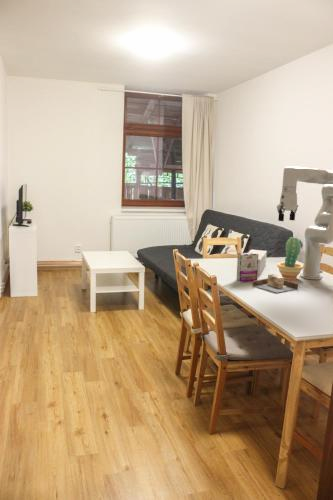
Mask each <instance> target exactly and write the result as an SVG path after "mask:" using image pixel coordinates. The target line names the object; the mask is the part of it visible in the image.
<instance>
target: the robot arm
mask: <svg viewBox="0 0 333 500" xmlns="http://www.w3.org/2000/svg"><path fill="white" fill-rule="evenodd" d="M282 175H283V176H282V187H281V194H280V200H279V204H278V205H276V209H277V212H278V213H277V214H278V217H277V218H278V220H277V221H279V222H284V219H285V214H284V213H285V211H288V212H289V218H288V219H289V221H295V220H296V214H297V211H298V207H299V205H298V194H297V193H298V192H297V185H298V182H301V183H307V184H308V183H309V184H316V185H317V184H318V185H323V186H322V188H321V198H322V204H321V207H320V209H319V211H318V213H317V214H316V216H315V218H314V224H315V225H309V226H307V227H306V228H305V230H304V241H305V242H304V243H305V244H304V245H305V246H304V254H303V256H304V257H303V264H302V265H303V269H302V273H299V277H300V278H302V279H307V280H315V281H316V280H322V275H320V274H323V273H324V271H323V269H320V268H321V258H322V257H321V256H322V247H321V244H323V245H324V244H325V245H330V244H332V243H333V169H332V170H329V169H322V168H321V169H320V168H312V167H311V168H308V167H304V166H303V167H302V166H301V167H300V166H285V167H284V169H283V174H282Z"/></svg>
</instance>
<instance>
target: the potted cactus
mask: <svg viewBox="0 0 333 500" xmlns="http://www.w3.org/2000/svg"><path fill="white" fill-rule="evenodd" d="M303 247H304V242H303V241H302V240H301V239H299V238H298V237H295V236H293V237H292V236H290V237H289V238H288V239H287V241H286V242H285V260H284V262H278V263H277V264H276V266H277V268H278V270H279V273H280V275H281V277H284V280H288V281H289V280H290V281H294V280H295V281H296V280H297V279H298V276H300V274H301V272H302V271H303V265H304V264H300V263H296V261H297V259H298V256H299V255H300V253H301V250H302V249H303Z"/></svg>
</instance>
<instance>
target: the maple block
mask: <svg viewBox="0 0 333 500" xmlns="http://www.w3.org/2000/svg"><path fill="white" fill-rule="evenodd" d="M267 278H268V283H267V284H270V285H273V286H277V287H281V286H283V285H284V280H285V279H284V277H282V275H281V276H280V275H277V274H273V273H272V274H268V275H267Z"/></svg>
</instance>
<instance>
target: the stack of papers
mask: <svg viewBox="0 0 333 500" xmlns="http://www.w3.org/2000/svg"><path fill="white" fill-rule="evenodd" d="M247 253H257V254H258V270H257V277H260V276H261V275H262V273H263V271H264V270H265V268H266V267H267V255H268V251H267V250H261V249H259V250H258V249H249V251H248V252H247Z"/></svg>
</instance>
